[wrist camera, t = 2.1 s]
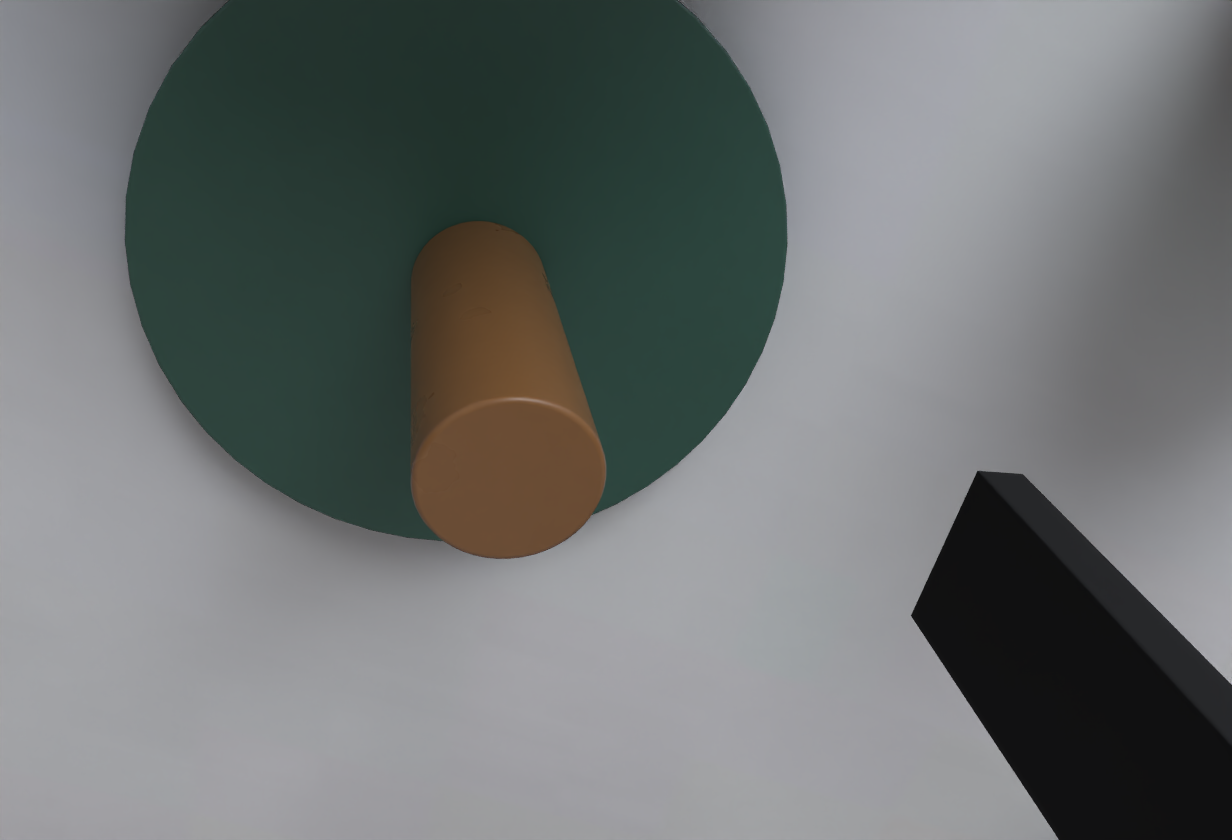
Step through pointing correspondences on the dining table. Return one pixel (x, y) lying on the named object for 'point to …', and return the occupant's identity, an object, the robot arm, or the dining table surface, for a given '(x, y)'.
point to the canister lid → (456, 253)
